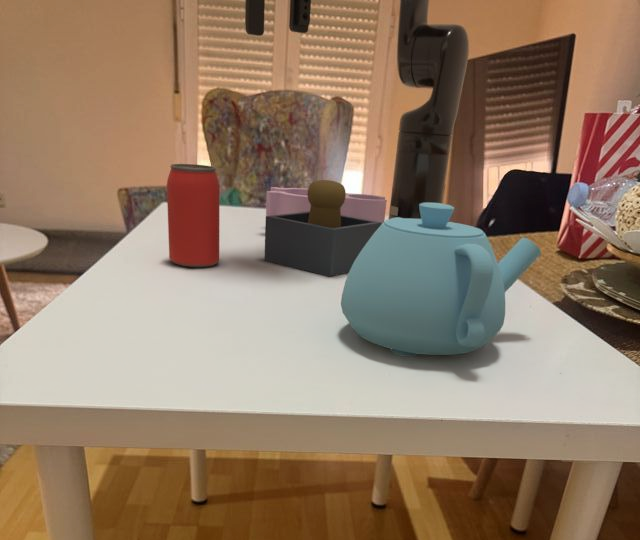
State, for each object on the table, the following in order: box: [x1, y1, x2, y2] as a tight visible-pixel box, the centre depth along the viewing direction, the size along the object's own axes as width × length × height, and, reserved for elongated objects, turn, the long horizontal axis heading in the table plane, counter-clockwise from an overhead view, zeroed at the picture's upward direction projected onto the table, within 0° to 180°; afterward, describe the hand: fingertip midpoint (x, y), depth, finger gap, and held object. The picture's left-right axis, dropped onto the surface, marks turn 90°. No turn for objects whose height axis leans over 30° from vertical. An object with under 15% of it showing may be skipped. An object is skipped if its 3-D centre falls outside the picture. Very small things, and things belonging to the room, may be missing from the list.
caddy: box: [263, 211, 382, 277], centre depth 88 cm, size 12×12×6 cm
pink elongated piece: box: [265, 186, 387, 223], centre depth 108 cm, size 20×12×7 cm, turn 88°
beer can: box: [166, 163, 220, 268], centre depth 81 cm, size 7×7×12 cm
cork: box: [307, 179, 347, 228], centre depth 87 cm, size 6×6×11 cm
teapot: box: [340, 203, 542, 357], centre depth 59 cm, size 20×20×13 cm
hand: (275, 33), depth 73 cm, fingers open, 8 cm apart
